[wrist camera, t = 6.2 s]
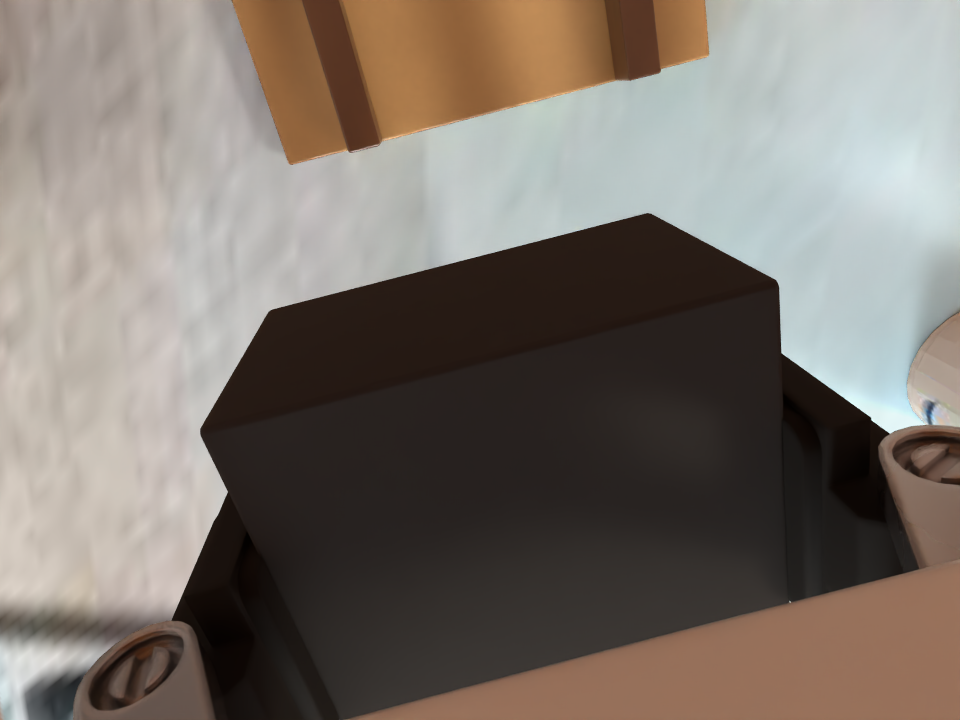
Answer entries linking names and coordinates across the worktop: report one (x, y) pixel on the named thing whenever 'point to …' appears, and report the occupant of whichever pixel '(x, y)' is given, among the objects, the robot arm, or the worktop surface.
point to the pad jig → (446, 59)
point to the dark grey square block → (513, 459)
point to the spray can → (937, 376)
